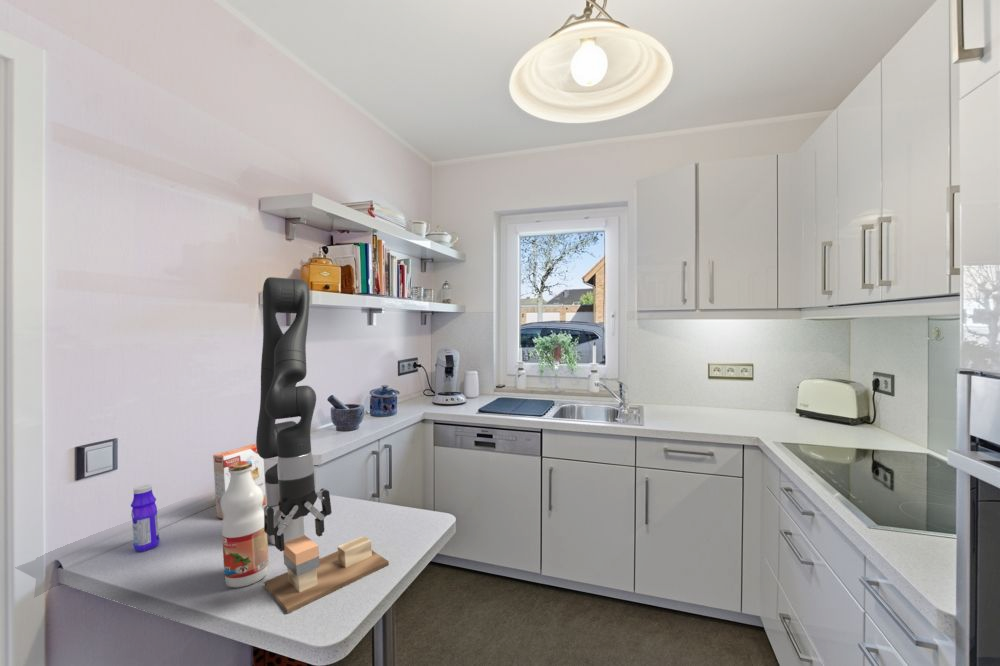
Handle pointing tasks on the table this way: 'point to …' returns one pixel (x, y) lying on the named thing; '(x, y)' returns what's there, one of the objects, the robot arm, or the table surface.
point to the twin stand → (326, 575)
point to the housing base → (301, 565)
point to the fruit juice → (243, 528)
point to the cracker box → (224, 476)
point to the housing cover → (300, 549)
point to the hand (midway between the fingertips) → (300, 542)
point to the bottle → (144, 519)
